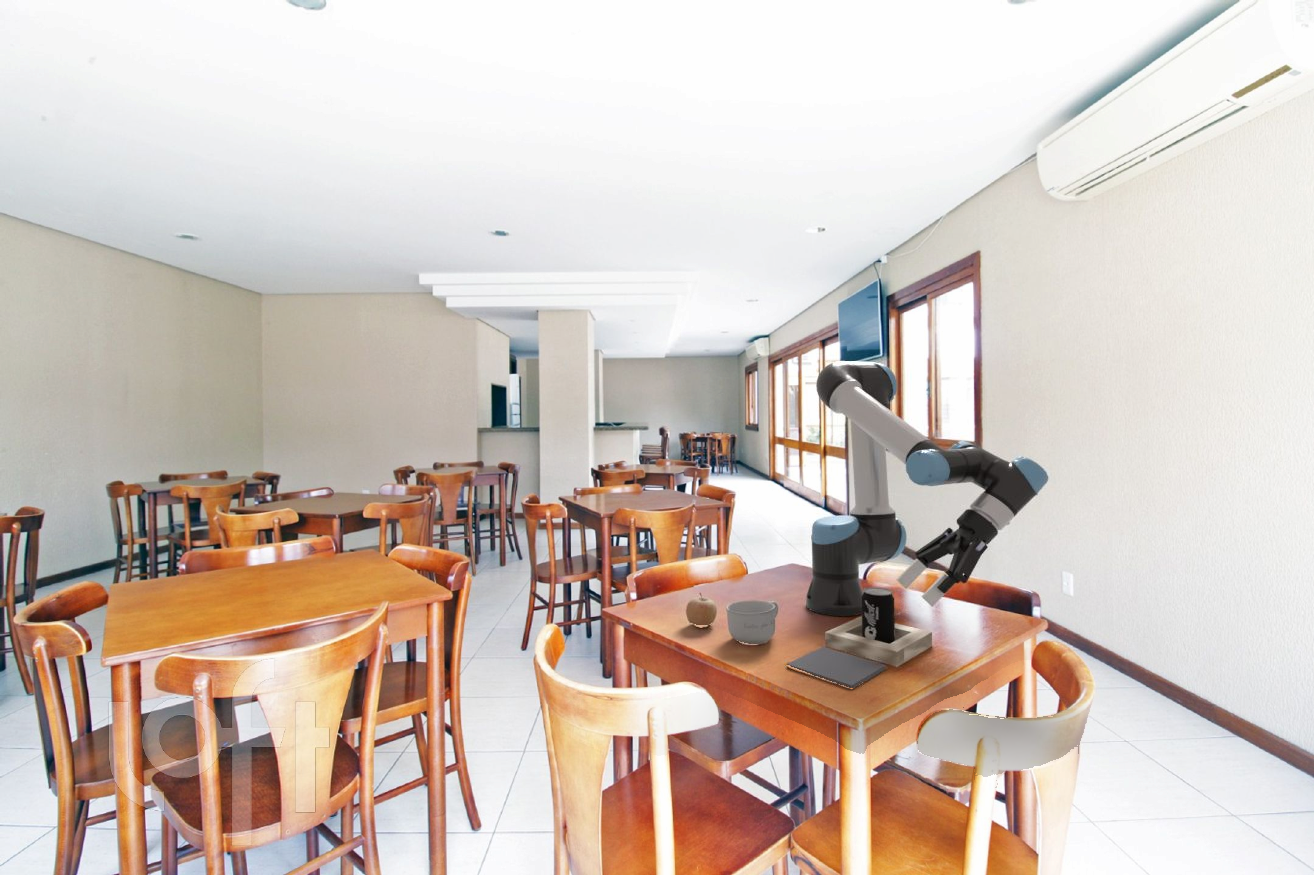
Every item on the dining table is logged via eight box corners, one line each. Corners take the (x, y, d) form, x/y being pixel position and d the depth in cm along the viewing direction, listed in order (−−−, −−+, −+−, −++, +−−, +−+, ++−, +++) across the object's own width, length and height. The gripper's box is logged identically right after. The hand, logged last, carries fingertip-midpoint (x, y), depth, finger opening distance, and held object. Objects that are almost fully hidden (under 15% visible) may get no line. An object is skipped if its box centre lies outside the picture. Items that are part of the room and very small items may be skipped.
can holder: (825, 646, 129) (824, 632, 129) (862, 628, 140) (862, 615, 140) (897, 666, 117) (897, 651, 117) (932, 645, 128) (932, 631, 128)
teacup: (745, 653, 126) (745, 615, 126) (717, 637, 136) (716, 602, 135) (797, 641, 132) (796, 605, 132) (766, 627, 142) (766, 593, 142)
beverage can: (897, 652, 125) (896, 595, 125) (864, 650, 126) (863, 594, 126) (891, 641, 131) (891, 586, 131) (860, 639, 132) (859, 585, 132)
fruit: (681, 623, 146) (680, 591, 146) (708, 619, 149) (707, 587, 148) (694, 633, 139) (694, 599, 139) (722, 628, 141) (722, 595, 141)
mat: (786, 667, 118) (786, 663, 118) (822, 650, 127) (822, 646, 127) (851, 689, 108) (851, 685, 108) (886, 669, 116) (886, 664, 116)
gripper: (1031, 543, 114) (953, 623, 114) (968, 522, 139) (904, 588, 139) (1002, 516, 114) (924, 596, 114) (944, 500, 139) (880, 566, 139)
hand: (913, 592), depth 127 cm, fingers open, 13 cm apart
